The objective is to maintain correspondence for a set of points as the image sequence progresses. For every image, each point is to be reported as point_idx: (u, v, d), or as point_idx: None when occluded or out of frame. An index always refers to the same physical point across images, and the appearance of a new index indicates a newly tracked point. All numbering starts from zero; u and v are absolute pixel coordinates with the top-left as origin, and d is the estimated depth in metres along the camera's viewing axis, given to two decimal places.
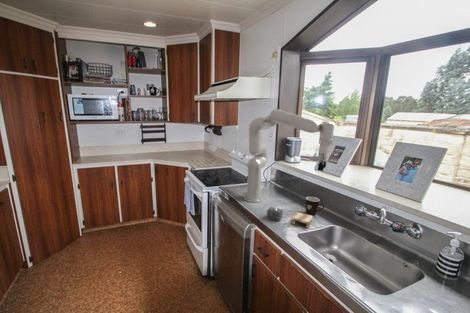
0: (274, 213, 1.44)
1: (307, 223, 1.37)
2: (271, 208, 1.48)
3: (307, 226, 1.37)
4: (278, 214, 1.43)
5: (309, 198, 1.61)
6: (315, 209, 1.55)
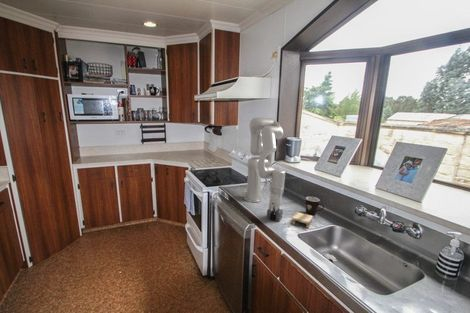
0: None
1: (307, 223, 1.37)
2: None
3: (307, 226, 1.37)
4: (278, 214, 1.43)
5: (309, 198, 1.61)
6: (315, 209, 1.55)
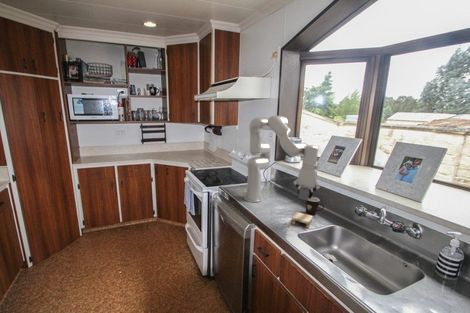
0: None
1: (307, 223, 1.37)
2: None
3: (307, 226, 1.37)
4: None
5: None
6: (315, 209, 1.55)
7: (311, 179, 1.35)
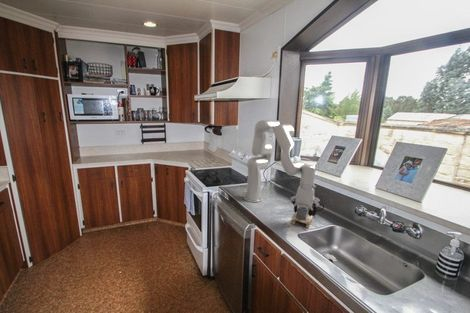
0: None
1: (307, 223, 1.37)
2: (304, 206, 1.44)
3: (307, 226, 1.37)
4: (297, 210, 1.41)
5: None
6: (315, 209, 1.55)
7: (309, 198, 1.37)
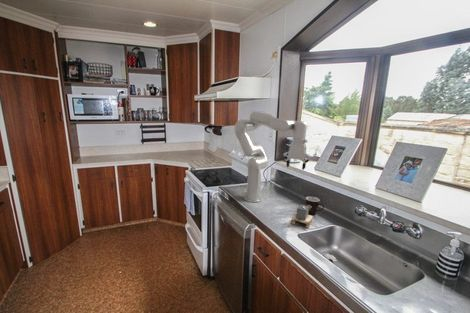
0: None
1: (307, 223, 1.37)
2: (304, 206, 1.44)
3: (307, 226, 1.37)
4: (297, 210, 1.41)
5: (309, 198, 1.61)
6: (315, 209, 1.55)
7: (300, 152, 1.47)
